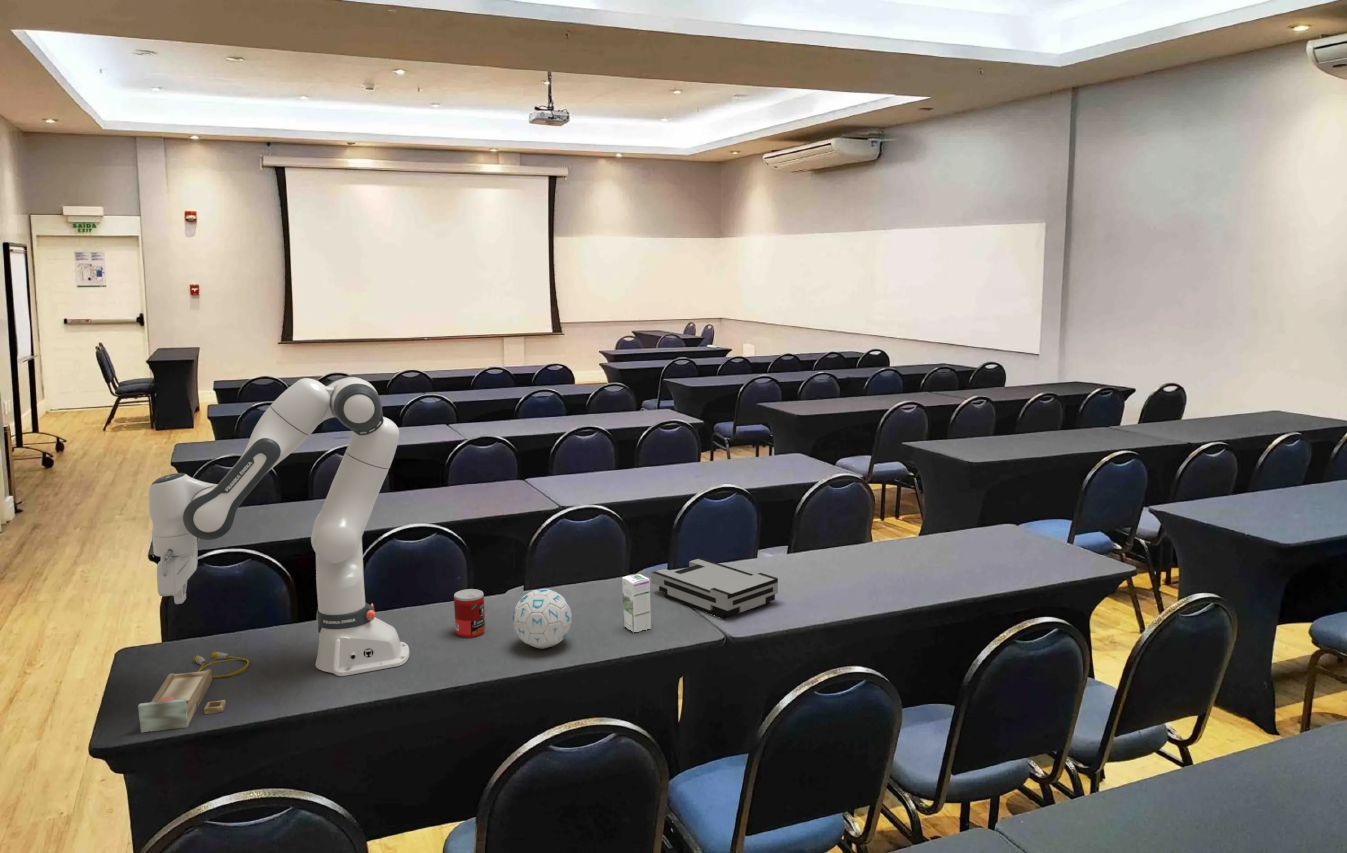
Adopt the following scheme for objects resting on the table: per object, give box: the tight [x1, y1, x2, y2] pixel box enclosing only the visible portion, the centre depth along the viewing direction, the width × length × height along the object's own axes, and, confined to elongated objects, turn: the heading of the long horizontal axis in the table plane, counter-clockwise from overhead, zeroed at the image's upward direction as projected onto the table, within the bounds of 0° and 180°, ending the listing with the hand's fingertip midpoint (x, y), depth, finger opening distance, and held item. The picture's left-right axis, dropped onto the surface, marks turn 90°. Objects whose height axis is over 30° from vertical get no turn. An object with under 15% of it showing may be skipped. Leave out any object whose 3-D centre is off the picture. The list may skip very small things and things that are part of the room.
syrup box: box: [621, 573, 652, 634], centre depth 253 cm, size 6×6×14 cm
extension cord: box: [193, 650, 250, 679], centre depth 232 cm, size 12×16×2 cm
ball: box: [158, 696, 176, 702], centre depth 205 cm, size 4×4×4 cm
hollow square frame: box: [203, 699, 227, 715], centre depth 209 cm, size 4×4×1 cm
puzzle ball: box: [512, 588, 573, 649], centre depth 242 cm, size 15×15×15 cm
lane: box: [137, 668, 213, 733], centre depth 211 cm, size 9×24×6 cm, turn 14°
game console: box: [650, 557, 779, 620], centre depth 276 cm, size 21×32×8 cm, turn 42°
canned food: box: [453, 588, 486, 638], centre depth 251 cm, size 8×8×11 cm
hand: (180, 601), depth 217 cm, fingers closed
